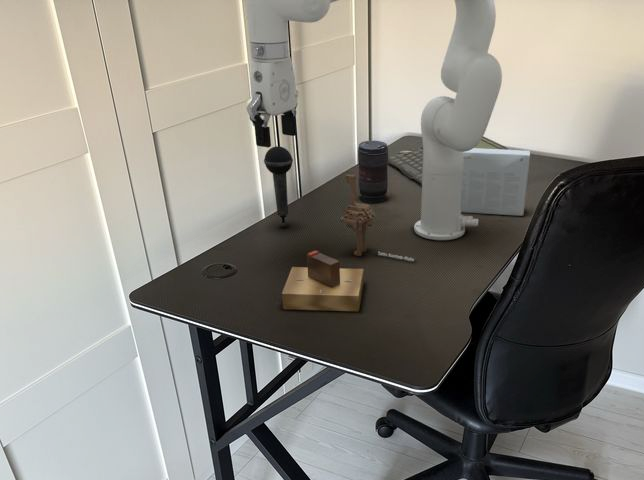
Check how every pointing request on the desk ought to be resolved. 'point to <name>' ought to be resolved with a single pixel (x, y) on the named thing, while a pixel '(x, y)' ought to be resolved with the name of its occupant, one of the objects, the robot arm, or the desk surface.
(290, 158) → the microphone
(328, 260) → the arm
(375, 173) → the camera lens
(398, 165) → the computer keyboard
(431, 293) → the desk surface
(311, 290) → the wooden dial board
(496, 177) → the skincare box
